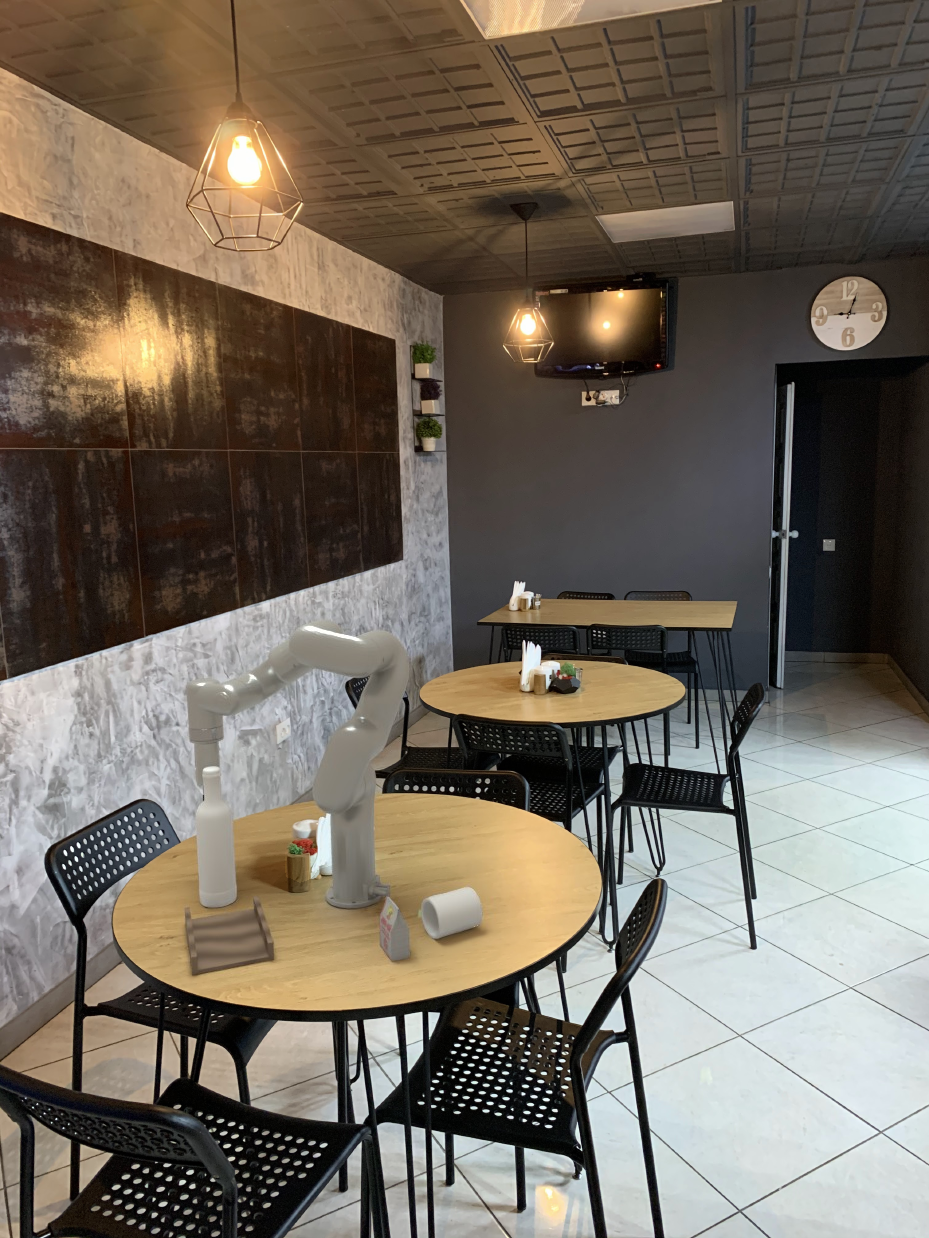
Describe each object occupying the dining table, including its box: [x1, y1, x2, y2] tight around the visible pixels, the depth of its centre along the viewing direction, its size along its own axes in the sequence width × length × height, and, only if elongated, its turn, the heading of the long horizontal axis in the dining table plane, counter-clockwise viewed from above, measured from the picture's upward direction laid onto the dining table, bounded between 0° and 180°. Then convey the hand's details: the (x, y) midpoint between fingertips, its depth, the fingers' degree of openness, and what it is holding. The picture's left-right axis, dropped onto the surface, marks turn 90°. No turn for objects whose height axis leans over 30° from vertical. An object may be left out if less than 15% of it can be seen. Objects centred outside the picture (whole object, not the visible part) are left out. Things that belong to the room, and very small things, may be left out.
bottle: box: [194, 766, 238, 909], centre depth 192 cm, size 8×8×30 cm
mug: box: [420, 886, 484, 940], centre depth 180 cm, size 12×10×8 cm
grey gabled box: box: [378, 895, 411, 962], centre depth 170 cm, size 4×7×10 cm, turn 24°
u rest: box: [184, 895, 275, 976], centre depth 175 cm, size 22×15×4 cm
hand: (210, 811), depth 202 cm, fingers closed
